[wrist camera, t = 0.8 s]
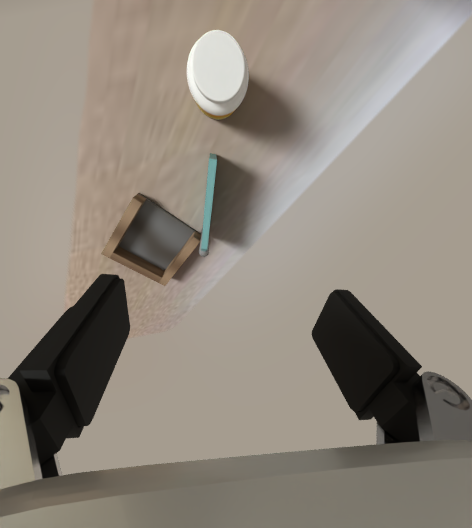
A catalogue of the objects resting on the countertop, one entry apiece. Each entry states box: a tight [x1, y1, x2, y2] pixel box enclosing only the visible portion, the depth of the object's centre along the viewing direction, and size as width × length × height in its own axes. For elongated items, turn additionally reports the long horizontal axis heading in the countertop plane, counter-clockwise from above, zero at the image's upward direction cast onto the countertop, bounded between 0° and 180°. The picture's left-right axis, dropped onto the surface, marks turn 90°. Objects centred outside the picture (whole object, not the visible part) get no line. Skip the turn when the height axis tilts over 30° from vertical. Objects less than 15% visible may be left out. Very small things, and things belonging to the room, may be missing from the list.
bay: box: [101, 193, 201, 286], centre depth 31 cm, size 10×10×2 cm
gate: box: [199, 153, 217, 257], centre depth 27 cm, size 1×12×7 cm, turn 170°
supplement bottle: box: [187, 30, 249, 120], centre depth 19 cm, size 5×5×10 cm
